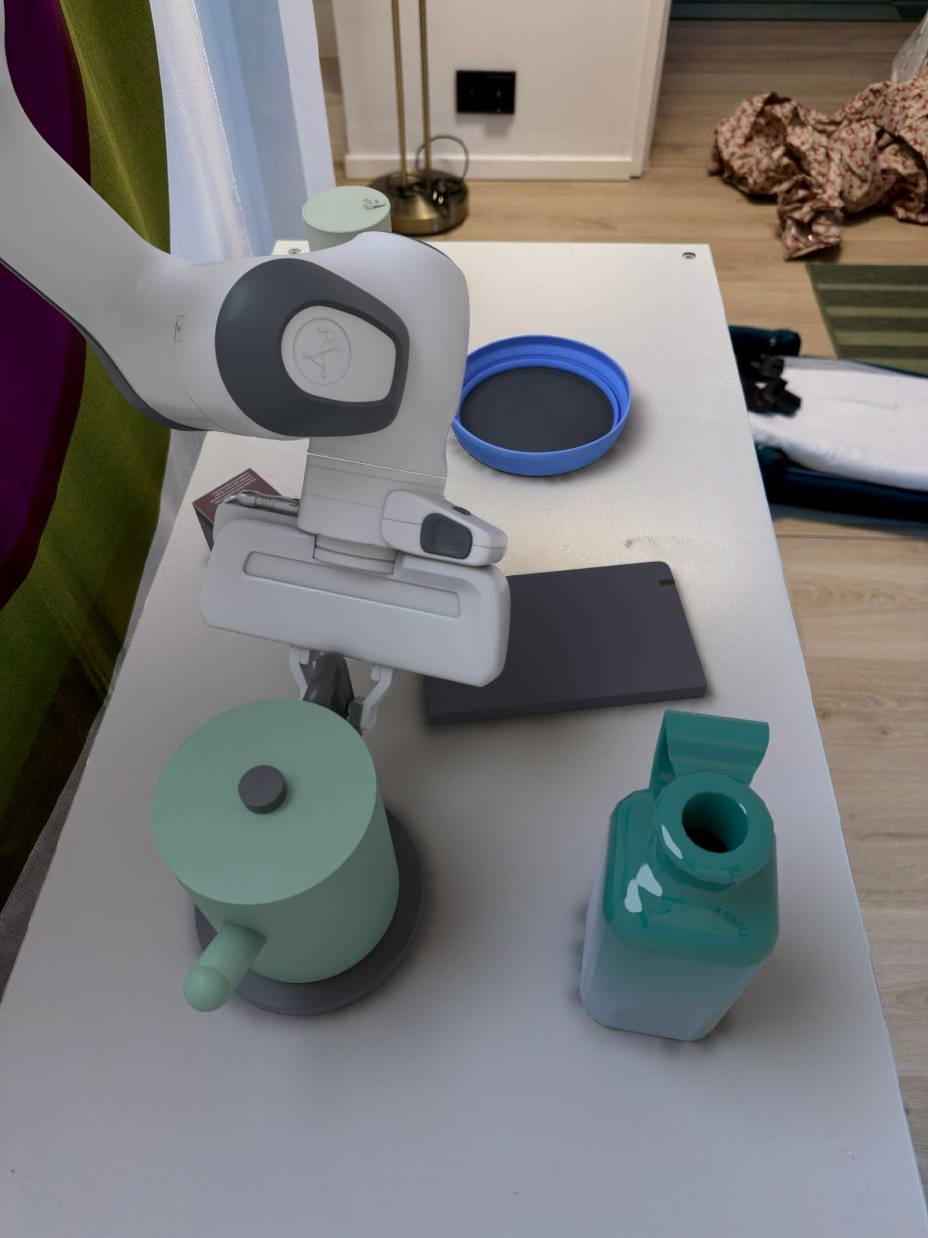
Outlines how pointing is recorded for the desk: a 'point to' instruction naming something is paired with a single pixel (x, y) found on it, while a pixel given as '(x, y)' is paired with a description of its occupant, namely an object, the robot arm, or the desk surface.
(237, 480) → the box
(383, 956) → the kettle base
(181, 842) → the kettle
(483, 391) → the bowl
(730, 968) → the pitcher
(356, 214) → the can
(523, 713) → the notebook
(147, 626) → the desk surface
